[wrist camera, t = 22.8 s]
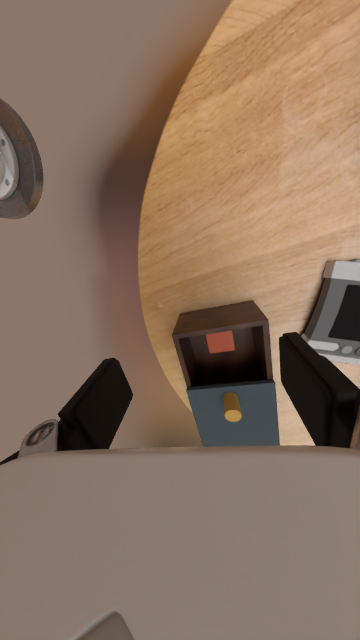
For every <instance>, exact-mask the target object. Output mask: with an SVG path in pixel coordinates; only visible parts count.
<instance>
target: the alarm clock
mask: <svg viewBox="0 0 360 640" xmlns="http://www.w3.org/2000/svg"><path fill="white" fill-rule="evenodd" d="M323 278H325V281H324V285H323V288H322V291H321V294H320V297H319V300H318V303H317V305H316V308H315V310H314V313H313V315H312V318H311V320H310V322H309V324H308V326H307V329H306V331H305V333H303V334H302V336H301V337H302V338H303V339H304V340H305V341H306V342H307V343H308V344H309V345H310V346H311V347H312V348H313V349H314V350H315V351H316V352H317V353H318V354H319V355H322V356H325V357H326V358H327V359H328V360H329V361H334V362H341V363H348V364H355V365H360V259H354V260H351V261H350V262H347V261H328V262H327V263H326V267H325V270H324V273H323Z"/></svg>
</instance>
